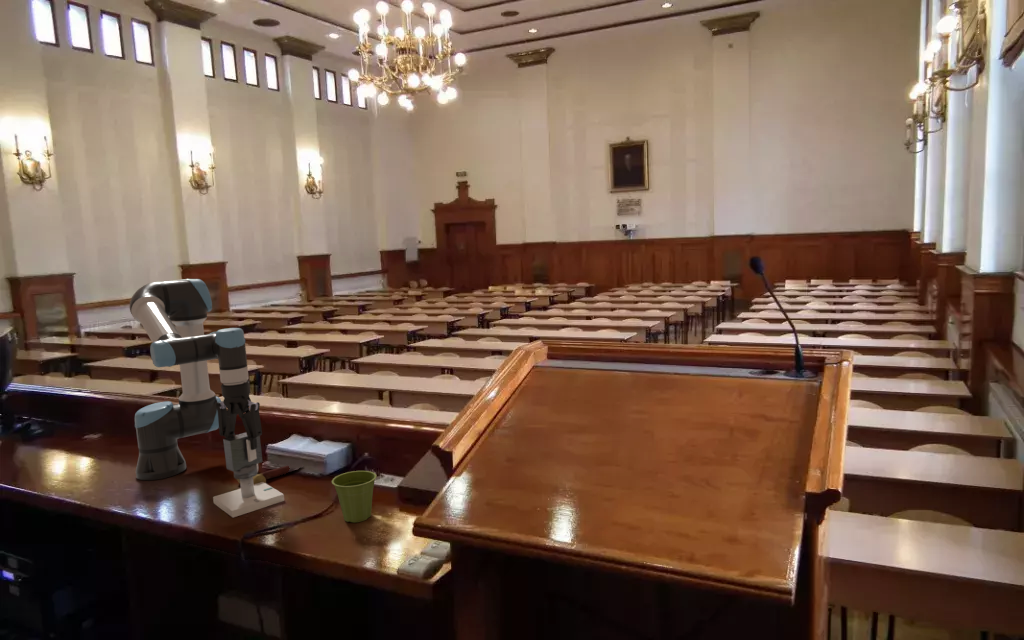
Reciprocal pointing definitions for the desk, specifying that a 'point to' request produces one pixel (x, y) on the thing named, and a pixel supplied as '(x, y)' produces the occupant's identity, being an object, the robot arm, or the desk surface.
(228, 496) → the base
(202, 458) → the desk surface
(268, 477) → the gavel
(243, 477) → the grey block orange cap
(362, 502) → the plant pot
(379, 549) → the desk surface
